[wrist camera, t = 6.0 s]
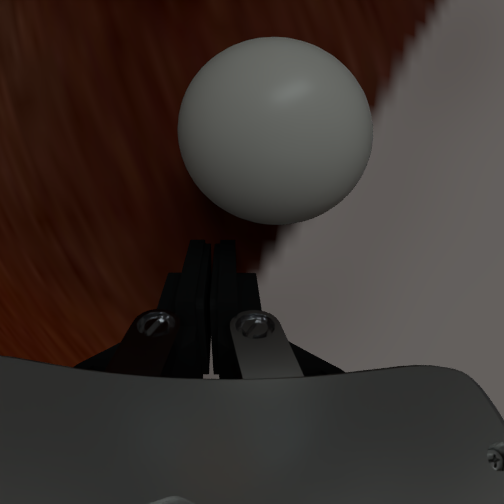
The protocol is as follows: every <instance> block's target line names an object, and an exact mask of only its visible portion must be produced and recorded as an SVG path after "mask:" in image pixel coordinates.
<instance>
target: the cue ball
mask: <svg viewBox="0 0 504 504" xmlns="http://www.w3.org/2000/svg"><path fill="white" fill-rule="evenodd" d="M372 141H373V123H372V116H371V112H370V108H369V105H368V101H367V99H366V96H365V94H364V92H363V90H362V88H361V87H360V85H359V83H358V82H357V80H356V78H355V77H354V76H353V75H352V73H351V72H350V71H349V70H348V69H347V68H346V67H345V66H344V65H343V64H342V63H341V62H340V61H339V60H338V59H336V58H335V57H334V56H332V55H331V54H329V53H327V52H326V51H324V50H322V49H321V48H319V47H317V46H315V45H312V44H310V43H307V42H304V41H300V40H296V39H291V38H284V37H265V38H256V39H252V40H247V41H244V42H241V43H239V44H236V45H233V46H231V47H229V48H227V49H226V50H224V51H222V52H220V53H219V54H217V55H216V56H215V57H213V58H212V59H211V60H209V61H208V62H207V63H206V64H205V65H204V66H203V67H202V68H201V69H200V71H199V72H198V73H197V74H196V76H195V77H194V78H193V80H192V81H191V83H190V85H189V87H188V89H187V90H186V93H185V95H184V98H183V100H182V104H181V108H180V112H179V119H178V142H179V147H180V151H181V155H182V158H183V161H184V164H185V166H186V169H187V171H188V172H189V174H190V176H191V177H192V179H193V181H194V182H195V184H196V185H197V186H198V187H199V189H200V190H201V191H202V192H203V193H204V194H205V195H206V196H207V197H208V198H209V199H210V200H211V201H212V202H214V203H215V204H216V205H217V206H219V207H220V208H222V209H223V210H225V211H227V212H229V213H230V214H233V215H235V216H237V217H239V218H242V219H245V220H248V221H252V222H255V223H261V224H273V225H284V224H292V223H297V222H302V221H306V220H309V219H312V218H314V217H317V216H319V215H321V214H323V213H324V212H327V211H328V210H330V209H331V208H333V207H334V206H335V205H337V204H338V203H339V202H341V201H342V200H343V199H344V198H345V197H346V196H347V195H348V194H349V193H350V192H351V191H352V190H353V188H354V187H355V186H356V184H357V183H358V181H359V180H360V178H361V176H362V174H363V172H364V170H365V168H366V166H367V163H368V160H369V157H370V153H371V149H372Z"/></svg>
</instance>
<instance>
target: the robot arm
mask: <svg viewBox="0 0 504 504" xmlns="http://www.w3.org/2000/svg"><path fill="white" fill-rule="evenodd" d="M211 339H212V354H213V355H212V356H213V371H214V374H219V379H203V374H209V363H210V343H211ZM0 504H504V420H503V418H502V417H501V415H500V413H499V412H498V410H497V409H496V407H495V406H494V404H493V403H492V401H491V400H490V398H489V397H488V396H487V394H486V393H485V392H484V391H483V389H482V388H481V387H480V386H479V385H478V384H477V383H476V382H475V381H474V380H473V379H472V378H471V377H469V376H468V375H467V374H465V373H463V372H461V371H458V370H455V369H451V368H446V367H439V366H432V365H410V366H397V367H389V368H381V369H372V370H363V371H355V372H344V371H342V370H341V369H339V368H338V367H336V366H334V365H332V364H330V363H328V362H326V361H324V360H322V359H320V358H318V357H316V356H314V355H313V354H311V353H309V352H307V351H305V350H303V349H302V348H300V347H298V346H296V345H294V344H292V343H291V342H289V341H288V340H287V338H286V335H285V333H284V331H283V329H282V327H281V324H280V322H279V321H278V320H277V318H276V317H274V316H273V315H272V314H270V313H267V312H264V311H262V310H261V303H260V297H259V290H258V284H257V277H256V273H236V254H235V240H221V243H220V244H215V248H214V259H213V269H212V273H211V244H205V240H190V244H189V247H188V251H187V255H186V258H185V262H184V266H183V270H182V273H168V276H167V279H166V282H165V285H164V288H163V291H162V294H161V298H160V301H159V304H158V307H157V309H154V310H149V311H146V312H143V313H142V314H140V315H138V316H137V317H136V318H135V320H134V321H133V322H132V324H131V326H130V327H129V329H128V331H127V333H126V334H125V336H124V338H123V339H122V341H121V342H120V343H118V344H117V345H115V346H113V347H111V348H109V349H107V350H105V351H103V352H101V353H99V354H97V355H95V356H93V357H91V358H89V359H87V360H85V361H83V362H81V363H79V364H77V365H76V366H74V367H67V366H61V365H56V364H50V363H45V362H40V361H34V360H28V359H22V358H17V357H11V356H1V355H0Z"/></svg>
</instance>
